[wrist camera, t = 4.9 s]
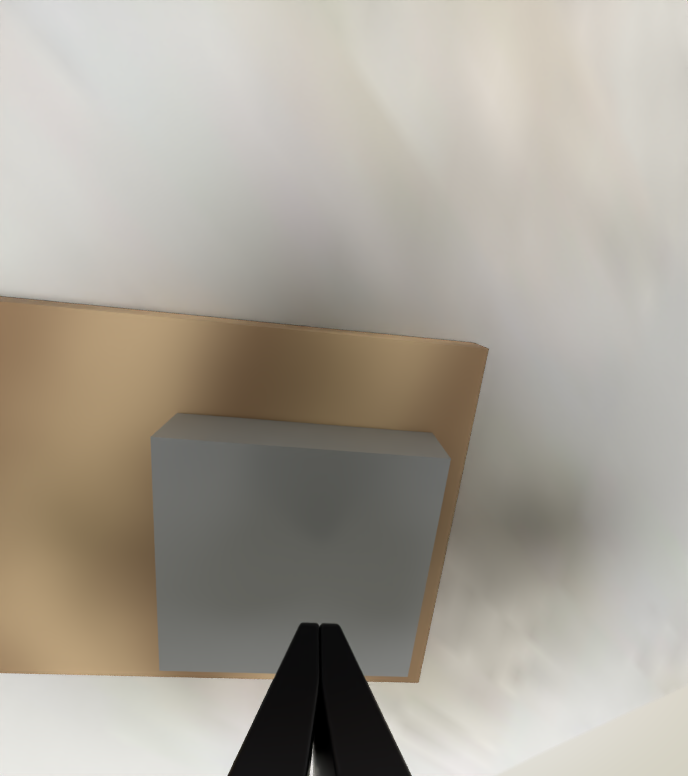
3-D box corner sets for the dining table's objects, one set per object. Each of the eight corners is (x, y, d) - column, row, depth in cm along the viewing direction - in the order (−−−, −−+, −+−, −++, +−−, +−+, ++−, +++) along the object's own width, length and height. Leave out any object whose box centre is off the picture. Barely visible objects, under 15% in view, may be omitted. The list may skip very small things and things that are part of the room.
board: (474, 342, 11) (488, 348, 10) (412, 655, 14) (418, 682, 13) (-38, 292, 10) (-77, 293, 9) (20, 644, 13) (-3, 672, 12)
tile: (177, 412, 10) (431, 431, 11) (181, 618, 12) (396, 625, 12) (150, 437, 8) (450, 458, 9) (159, 670, 10) (407, 676, 11)
